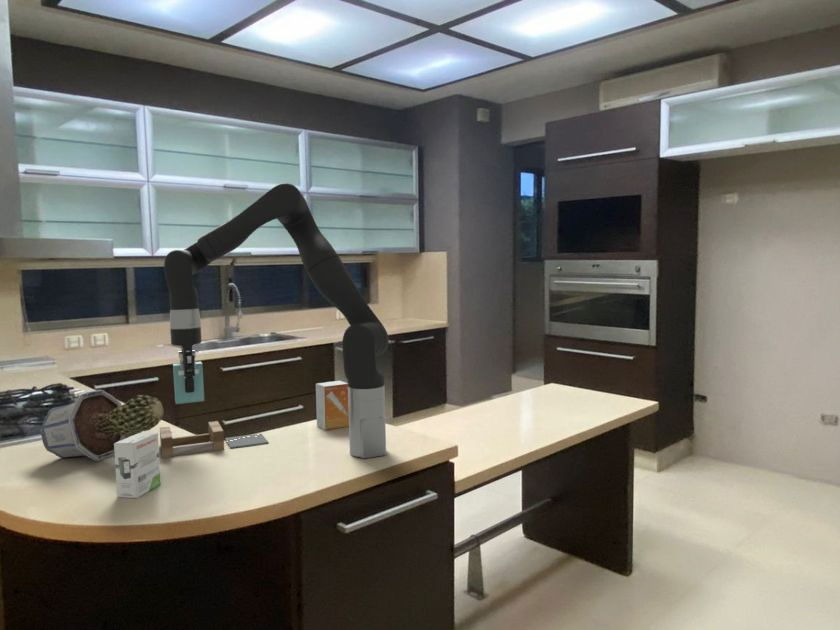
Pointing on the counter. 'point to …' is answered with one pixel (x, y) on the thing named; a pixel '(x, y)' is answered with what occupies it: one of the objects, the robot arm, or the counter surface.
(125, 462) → the ink box
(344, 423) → the small box
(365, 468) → the counter surface
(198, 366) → the teal box
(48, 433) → the potted plant
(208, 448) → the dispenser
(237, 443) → the mat
